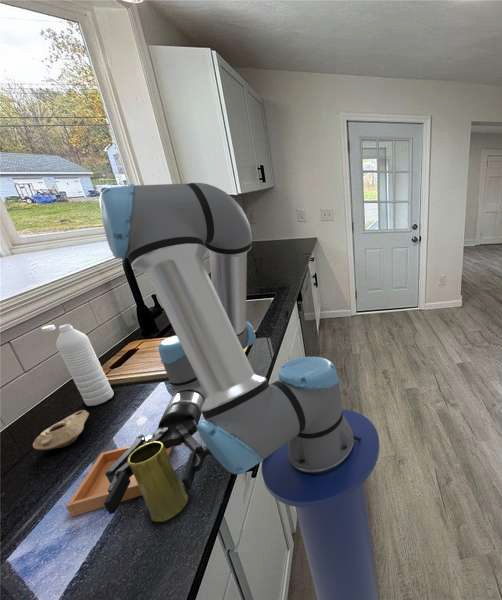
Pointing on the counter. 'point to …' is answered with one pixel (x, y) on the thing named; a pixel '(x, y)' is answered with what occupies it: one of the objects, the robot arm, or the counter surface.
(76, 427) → the pottery oil lamp
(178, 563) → the counter surface
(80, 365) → the water bottle
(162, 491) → the vase
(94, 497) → the wooden tray
